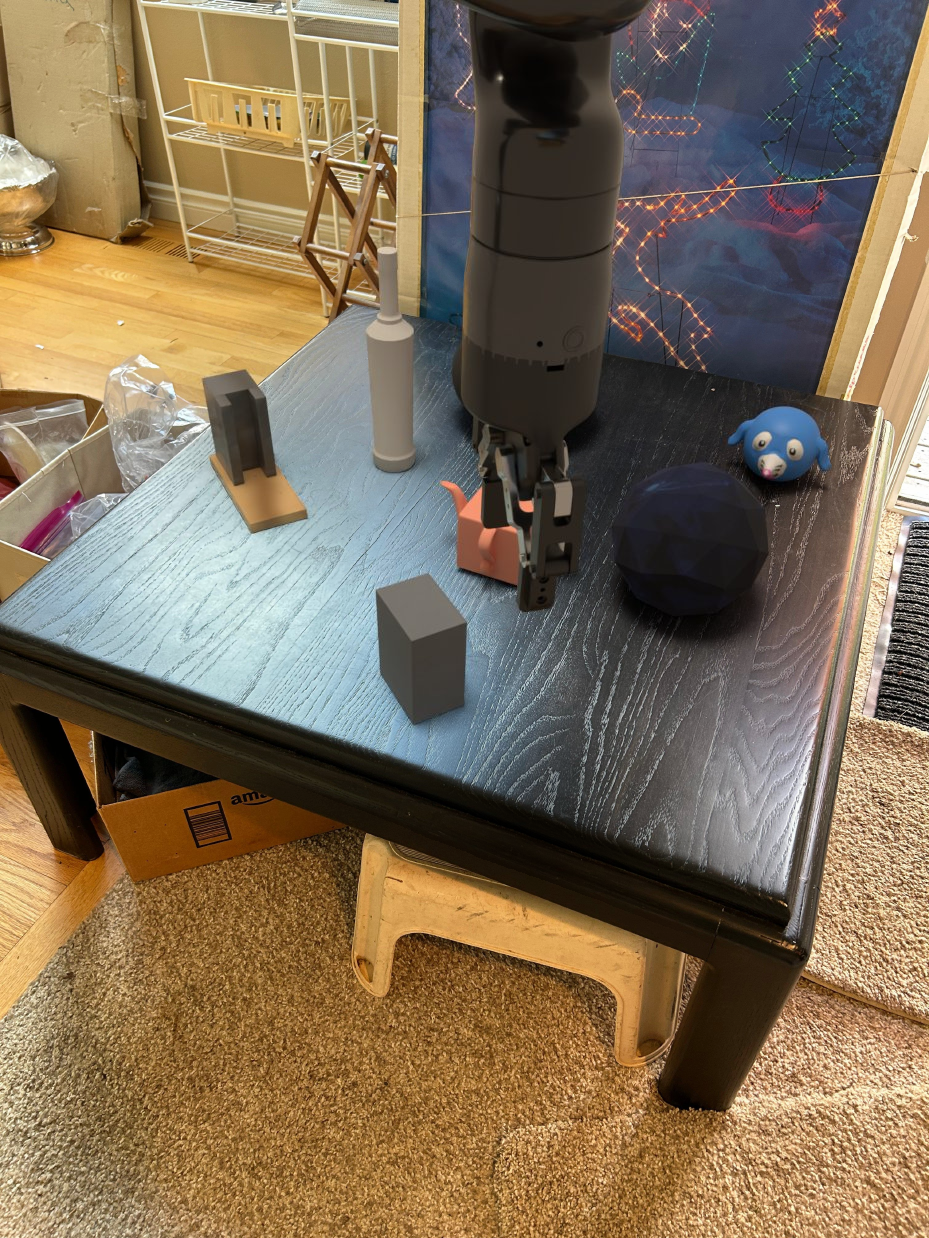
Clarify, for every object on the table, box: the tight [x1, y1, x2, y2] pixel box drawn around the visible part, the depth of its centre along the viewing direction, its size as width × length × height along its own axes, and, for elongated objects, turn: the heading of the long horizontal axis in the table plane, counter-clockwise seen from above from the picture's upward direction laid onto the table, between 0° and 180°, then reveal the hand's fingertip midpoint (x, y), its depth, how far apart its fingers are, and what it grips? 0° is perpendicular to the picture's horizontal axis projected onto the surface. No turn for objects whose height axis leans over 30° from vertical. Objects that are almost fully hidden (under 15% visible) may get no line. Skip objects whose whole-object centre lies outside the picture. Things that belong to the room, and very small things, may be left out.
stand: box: [201, 368, 308, 534], centre depth 99 cm, size 6×15×11 cm, turn 28°
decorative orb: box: [610, 461, 770, 617], centre depth 86 cm, size 14×15×15 cm
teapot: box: [440, 480, 534, 586], centre depth 92 cm, size 12×15×8 cm
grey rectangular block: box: [375, 572, 468, 725], centre depth 78 cm, size 5×9×10 cm, turn 28°
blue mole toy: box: [727, 406, 832, 482], centre depth 104 cm, size 12×12×8 cm
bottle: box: [365, 246, 416, 473], centre depth 100 cm, size 5×5×25 cm
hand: (515, 564), depth 58 cm, fingers open, 8 cm apart
